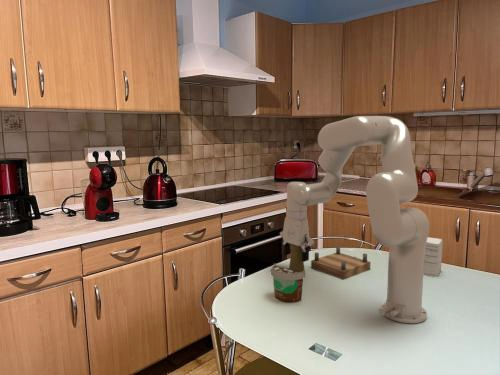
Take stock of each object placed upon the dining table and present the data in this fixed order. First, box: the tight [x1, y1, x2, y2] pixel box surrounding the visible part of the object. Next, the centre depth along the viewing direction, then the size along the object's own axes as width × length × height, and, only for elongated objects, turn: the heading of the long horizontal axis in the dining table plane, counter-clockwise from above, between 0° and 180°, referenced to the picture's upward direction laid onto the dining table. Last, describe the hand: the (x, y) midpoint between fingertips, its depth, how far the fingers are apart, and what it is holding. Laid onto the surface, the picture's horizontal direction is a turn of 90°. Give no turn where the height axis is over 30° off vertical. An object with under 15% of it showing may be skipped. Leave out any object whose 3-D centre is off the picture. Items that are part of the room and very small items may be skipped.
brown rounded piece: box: [288, 244, 305, 272], centre depth 152 cm, size 6×6×11 cm
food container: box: [270, 263, 306, 304], centre depth 126 cm, size 12×6×10 cm, turn 47°
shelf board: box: [310, 245, 371, 280], centre depth 153 cm, size 16×16×6 cm
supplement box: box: [423, 236, 444, 278], centre depth 148 cm, size 7×7×13 cm
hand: (296, 257), depth 152 cm, fingers open, 9 cm apart
